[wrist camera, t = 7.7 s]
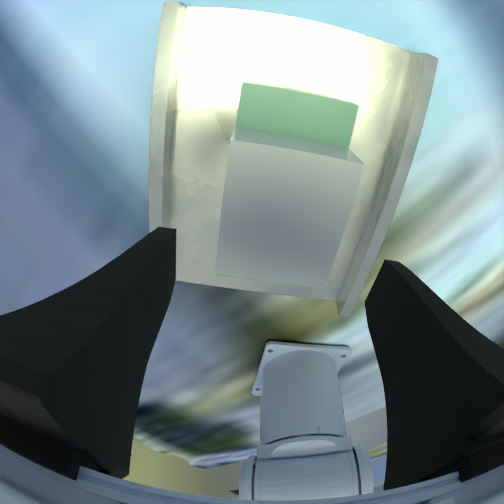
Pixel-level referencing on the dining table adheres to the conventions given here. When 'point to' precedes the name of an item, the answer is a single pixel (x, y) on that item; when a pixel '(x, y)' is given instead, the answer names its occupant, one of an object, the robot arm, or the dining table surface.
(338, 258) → the chassis
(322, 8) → the dining table surface
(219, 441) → the dining table surface
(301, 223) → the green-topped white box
